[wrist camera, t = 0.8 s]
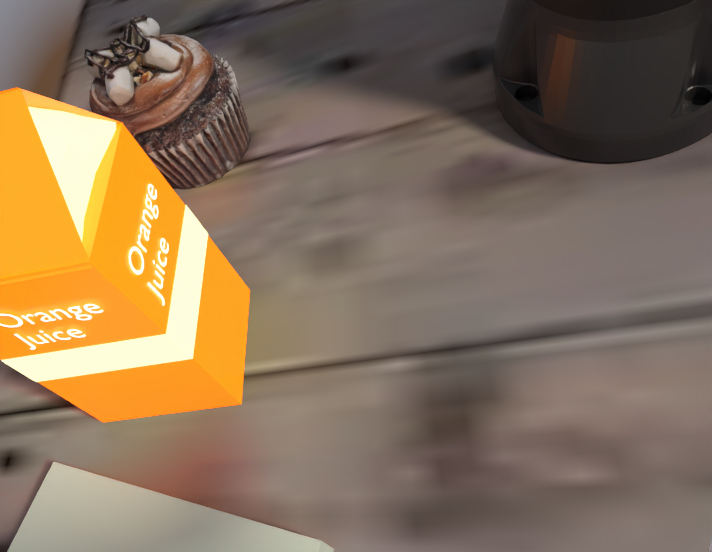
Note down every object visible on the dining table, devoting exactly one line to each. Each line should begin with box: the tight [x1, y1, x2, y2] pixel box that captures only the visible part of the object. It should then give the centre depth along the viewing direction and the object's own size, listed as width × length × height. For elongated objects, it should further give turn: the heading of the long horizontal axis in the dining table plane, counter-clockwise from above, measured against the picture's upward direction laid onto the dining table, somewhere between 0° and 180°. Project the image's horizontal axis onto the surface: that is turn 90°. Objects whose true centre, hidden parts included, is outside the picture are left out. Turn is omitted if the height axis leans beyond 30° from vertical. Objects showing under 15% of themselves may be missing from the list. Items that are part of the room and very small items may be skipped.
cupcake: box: [84, 14, 251, 189], centre depth 46 cm, size 10×10×10 cm
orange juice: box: [0, 88, 250, 422], centre depth 32 cm, size 8×9×20 cm
